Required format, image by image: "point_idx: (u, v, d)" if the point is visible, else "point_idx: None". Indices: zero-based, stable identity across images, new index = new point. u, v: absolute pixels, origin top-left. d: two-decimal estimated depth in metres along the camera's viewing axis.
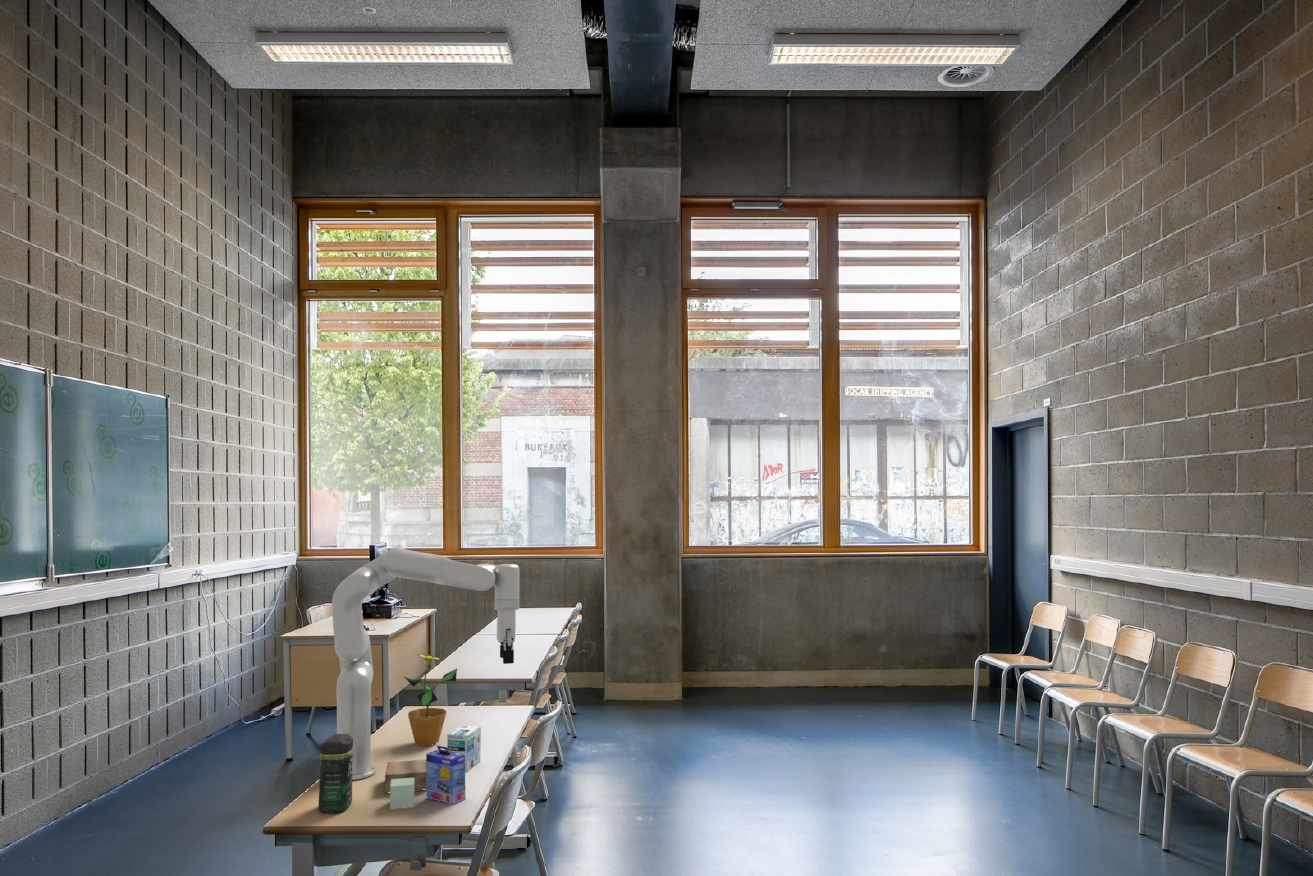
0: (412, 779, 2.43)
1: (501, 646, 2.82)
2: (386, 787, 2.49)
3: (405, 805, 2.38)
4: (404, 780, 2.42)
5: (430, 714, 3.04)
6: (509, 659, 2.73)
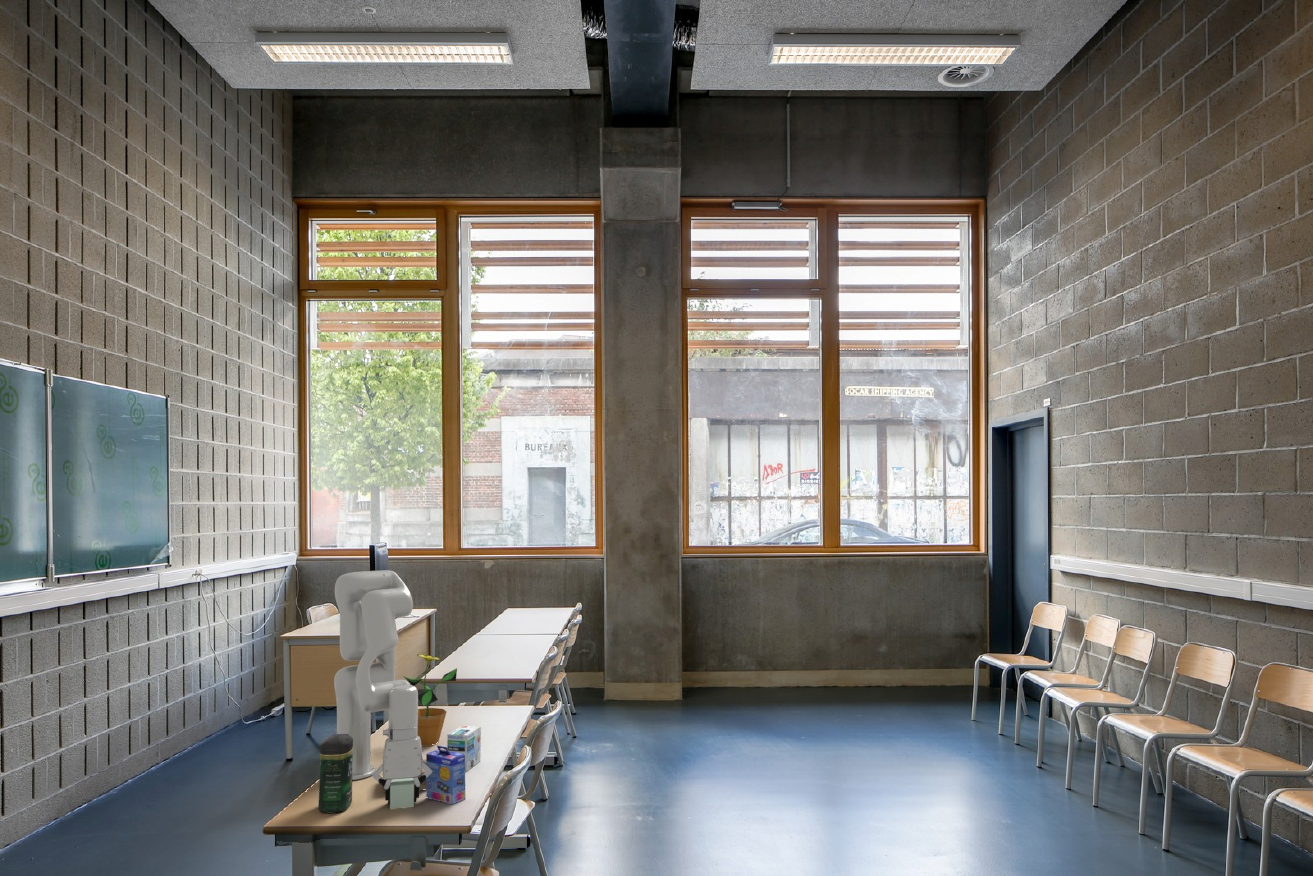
0: (412, 779, 2.43)
1: None
2: None
3: (405, 805, 2.38)
4: (404, 780, 2.42)
5: (430, 714, 3.04)
6: None
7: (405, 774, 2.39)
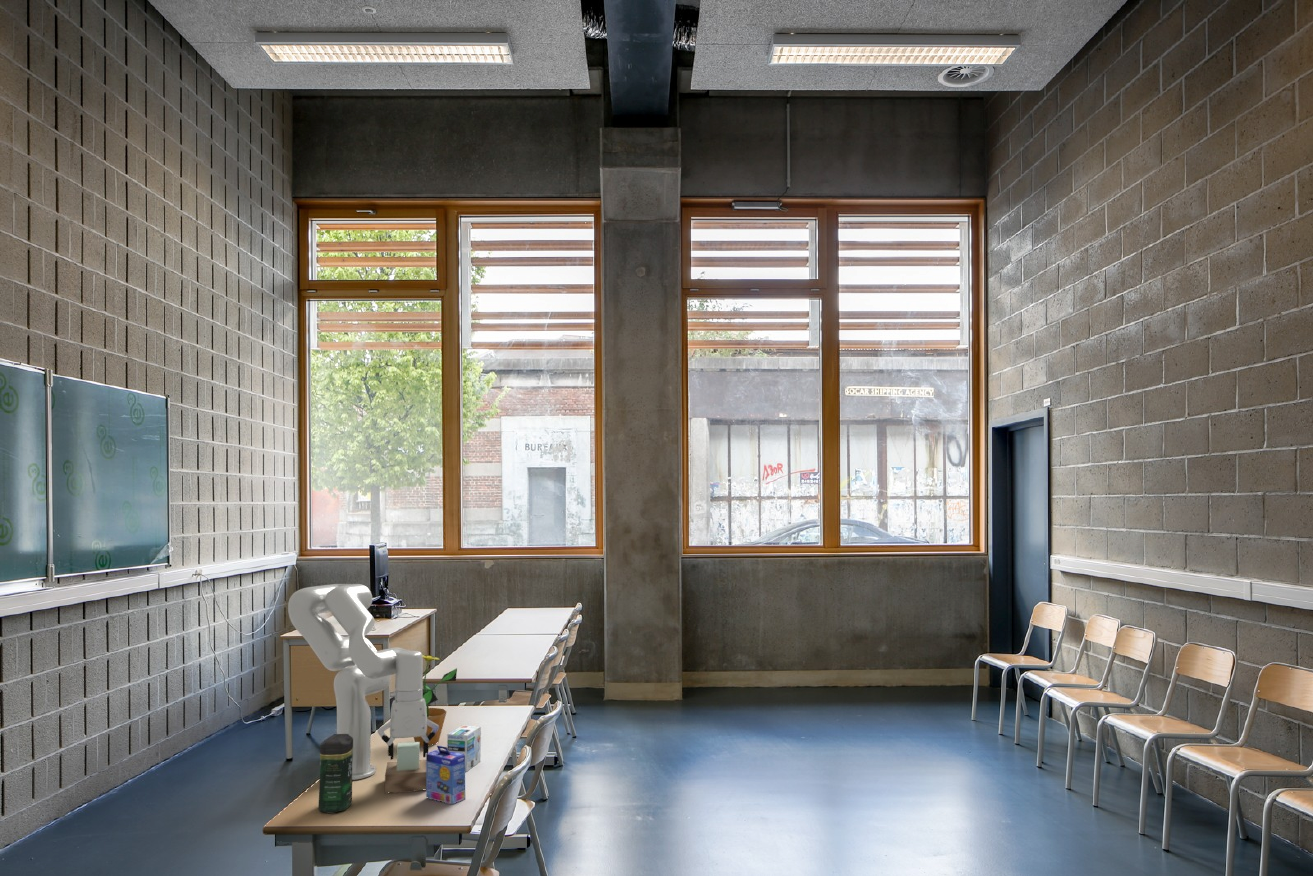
0: (417, 743, 2.59)
1: (392, 746, 2.55)
2: (386, 787, 2.49)
3: (411, 767, 2.54)
4: (410, 744, 2.58)
5: (430, 714, 3.04)
6: None
7: (411, 733, 2.55)
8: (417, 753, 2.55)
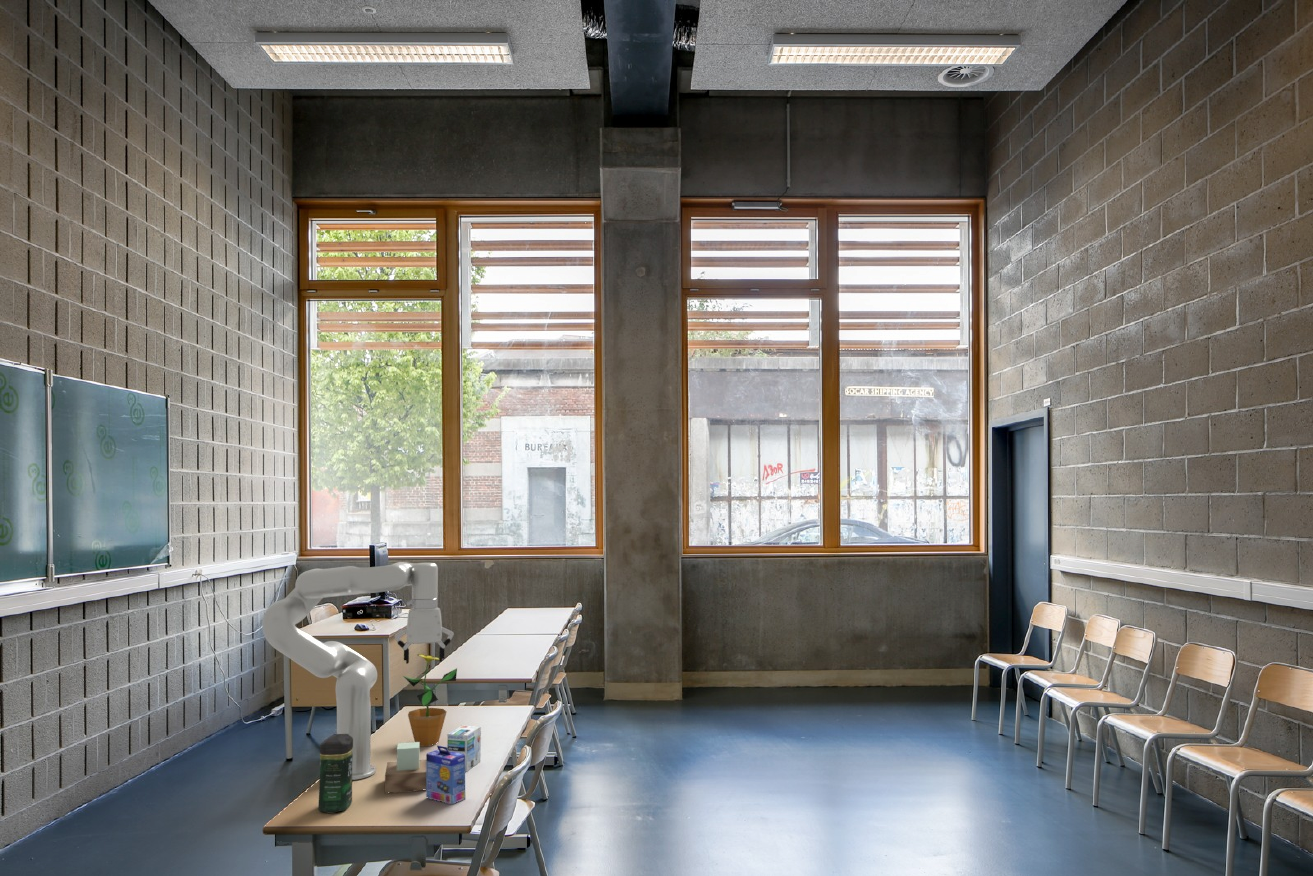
0: (417, 743, 2.59)
1: (408, 651, 2.68)
2: (386, 787, 2.49)
3: (411, 767, 2.54)
4: (410, 744, 2.58)
5: (430, 714, 3.04)
6: None
7: (427, 639, 2.68)
8: (417, 753, 2.55)
